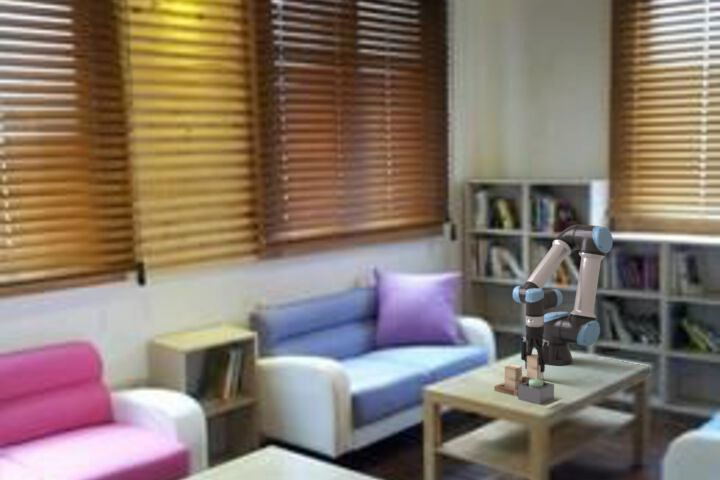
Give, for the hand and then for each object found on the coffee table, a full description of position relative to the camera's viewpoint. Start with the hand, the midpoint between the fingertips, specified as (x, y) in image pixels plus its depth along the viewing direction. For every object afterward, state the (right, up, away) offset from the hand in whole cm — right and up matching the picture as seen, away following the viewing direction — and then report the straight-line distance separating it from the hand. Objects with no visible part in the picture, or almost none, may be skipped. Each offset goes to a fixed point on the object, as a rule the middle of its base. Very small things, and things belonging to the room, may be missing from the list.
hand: (535, 377), depth 356 cm
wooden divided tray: (-9, -3, -15) cm, 18 cm away
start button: (-6, +1, -30) cm, 31 cm away
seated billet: (-13, -2, -18) cm, 22 cm away
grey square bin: (-6, -4, -30) cm, 31 cm away
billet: (0, 0, 0) cm, 0 cm away
